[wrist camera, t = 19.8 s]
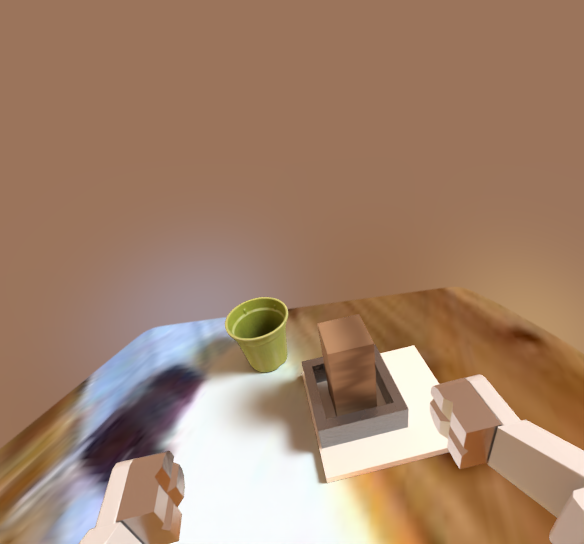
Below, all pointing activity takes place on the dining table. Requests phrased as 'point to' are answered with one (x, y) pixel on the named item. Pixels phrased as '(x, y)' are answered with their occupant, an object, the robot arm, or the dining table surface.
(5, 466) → the dining table surface
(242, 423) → the dining table surface
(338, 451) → the base plate
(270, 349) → the plant pot
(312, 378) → the steel collar
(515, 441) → the robot arm
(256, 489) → the dining table surface
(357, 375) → the walnut post
